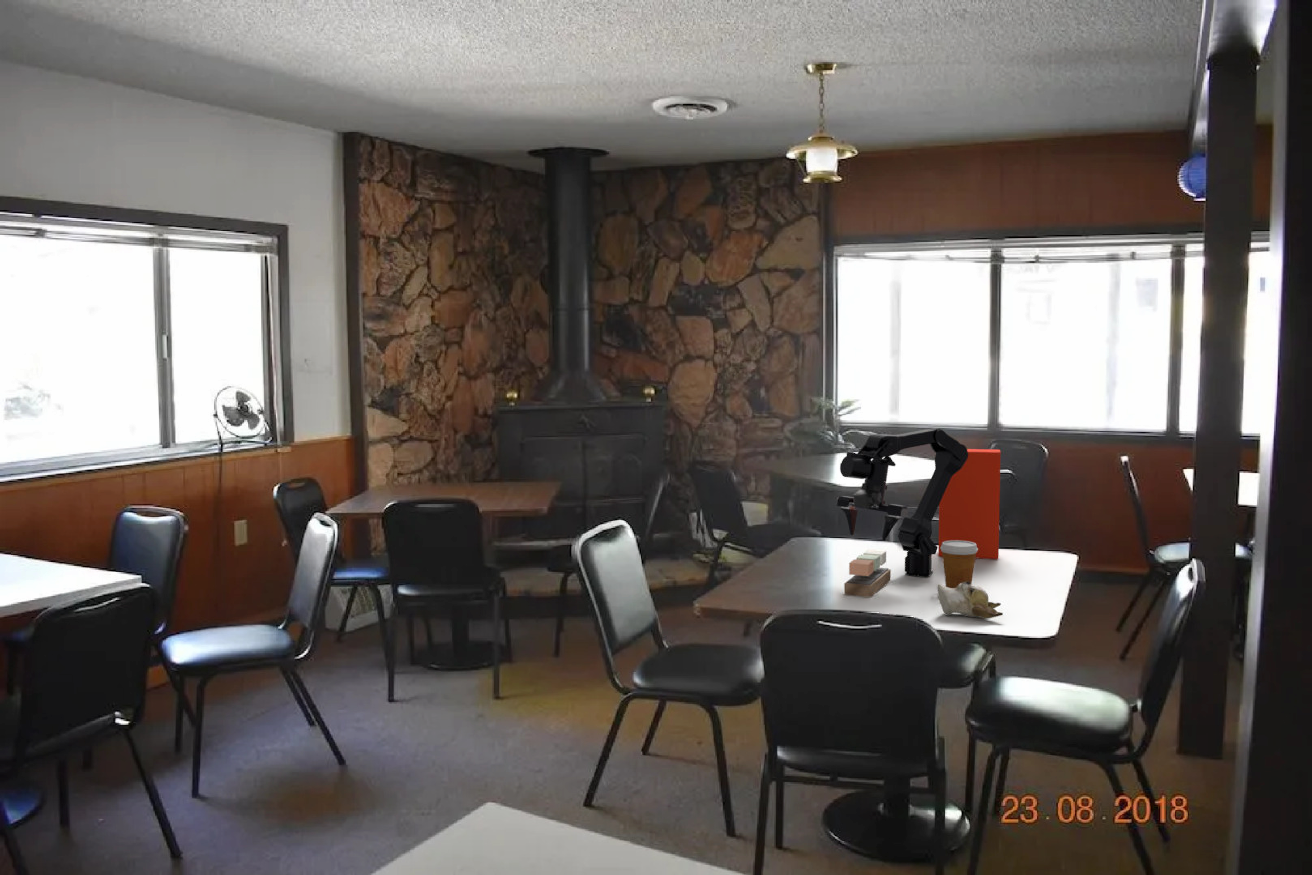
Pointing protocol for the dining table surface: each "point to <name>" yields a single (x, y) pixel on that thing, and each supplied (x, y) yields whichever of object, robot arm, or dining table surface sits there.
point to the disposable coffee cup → (958, 561)
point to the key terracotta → (861, 567)
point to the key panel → (867, 583)
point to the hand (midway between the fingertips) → (867, 537)
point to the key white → (877, 553)
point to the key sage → (871, 558)
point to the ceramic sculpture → (967, 601)
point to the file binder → (973, 504)
